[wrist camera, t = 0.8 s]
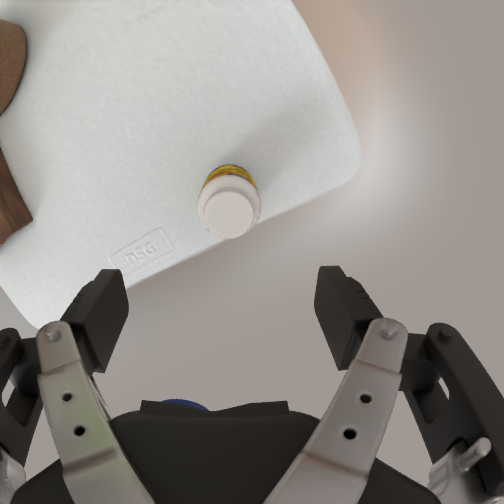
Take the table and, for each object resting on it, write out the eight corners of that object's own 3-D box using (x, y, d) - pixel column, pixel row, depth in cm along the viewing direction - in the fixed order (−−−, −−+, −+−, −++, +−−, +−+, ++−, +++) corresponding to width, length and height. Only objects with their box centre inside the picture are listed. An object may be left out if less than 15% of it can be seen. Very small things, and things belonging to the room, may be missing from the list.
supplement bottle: (256, 165, 31) (268, 183, 22) (252, 213, 33) (261, 250, 24) (205, 162, 30) (194, 179, 21) (203, 210, 32) (192, 247, 23)
